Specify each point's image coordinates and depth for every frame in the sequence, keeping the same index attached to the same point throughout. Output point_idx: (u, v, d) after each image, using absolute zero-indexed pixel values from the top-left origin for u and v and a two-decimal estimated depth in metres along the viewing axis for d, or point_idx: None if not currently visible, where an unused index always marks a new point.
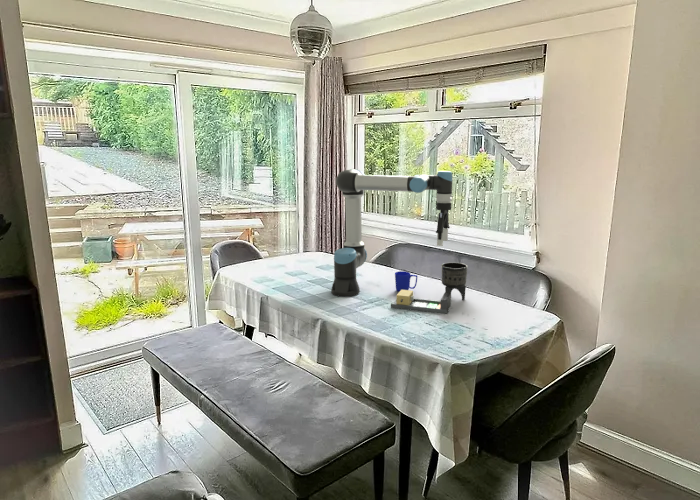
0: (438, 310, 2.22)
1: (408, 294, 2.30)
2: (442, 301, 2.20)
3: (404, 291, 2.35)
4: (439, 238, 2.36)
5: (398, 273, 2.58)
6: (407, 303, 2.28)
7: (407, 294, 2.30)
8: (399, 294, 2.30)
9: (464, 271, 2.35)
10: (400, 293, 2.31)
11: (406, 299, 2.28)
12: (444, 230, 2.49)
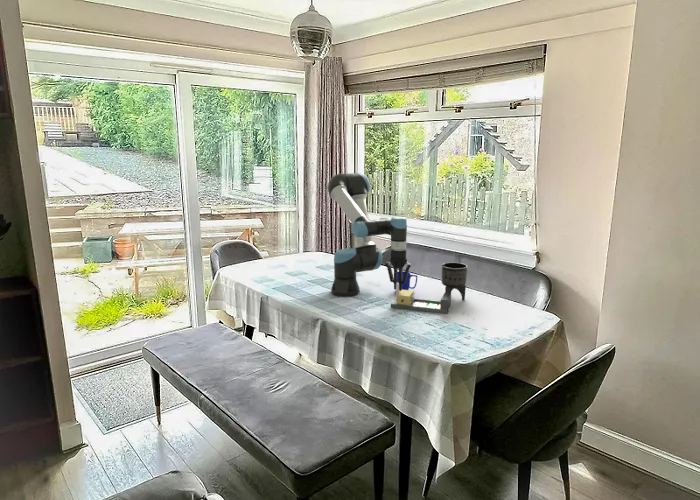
0: (438, 310, 2.22)
1: (409, 294, 2.30)
2: (442, 301, 2.20)
3: (405, 291, 2.34)
4: None
5: (398, 273, 2.58)
6: (408, 303, 2.28)
7: (408, 294, 2.30)
8: (400, 294, 2.30)
9: (464, 271, 2.35)
10: (401, 293, 2.31)
11: (407, 299, 2.28)
12: None
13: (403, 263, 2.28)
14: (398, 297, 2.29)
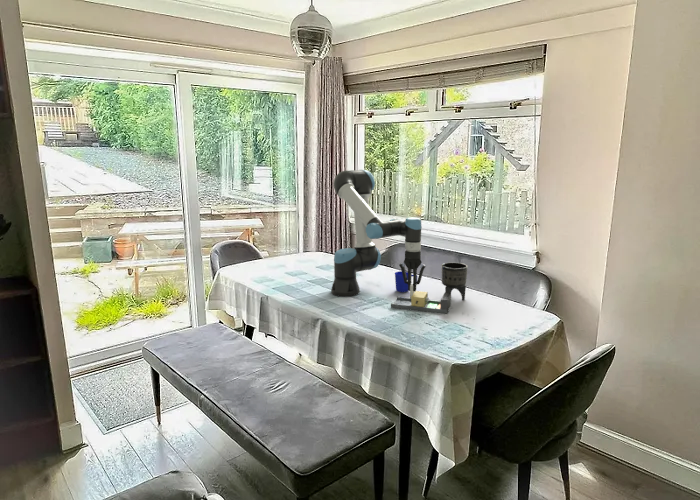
0: (438, 310, 2.22)
1: (423, 296, 2.27)
2: (442, 301, 2.20)
3: (419, 292, 2.32)
4: None
5: (398, 273, 2.58)
6: (422, 305, 2.25)
7: (422, 295, 2.28)
8: (414, 296, 2.27)
9: (464, 271, 2.35)
10: (415, 294, 2.29)
11: (421, 301, 2.25)
12: None
13: (417, 264, 2.26)
14: (412, 298, 2.26)
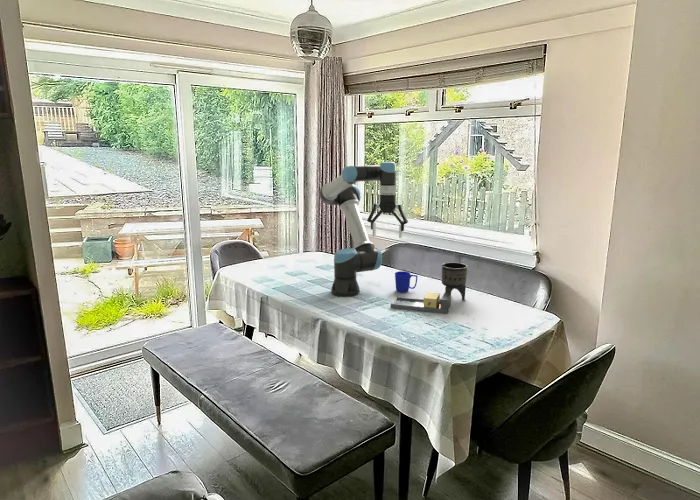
0: (438, 310, 2.22)
1: (435, 297, 2.25)
2: (442, 301, 2.20)
3: (431, 294, 2.30)
4: None
5: (398, 273, 2.58)
6: (434, 306, 2.23)
7: (434, 297, 2.26)
8: (426, 297, 2.25)
9: (464, 271, 2.35)
10: (427, 296, 2.27)
11: (433, 302, 2.23)
12: None
13: (393, 207, 2.31)
14: (425, 300, 2.24)
